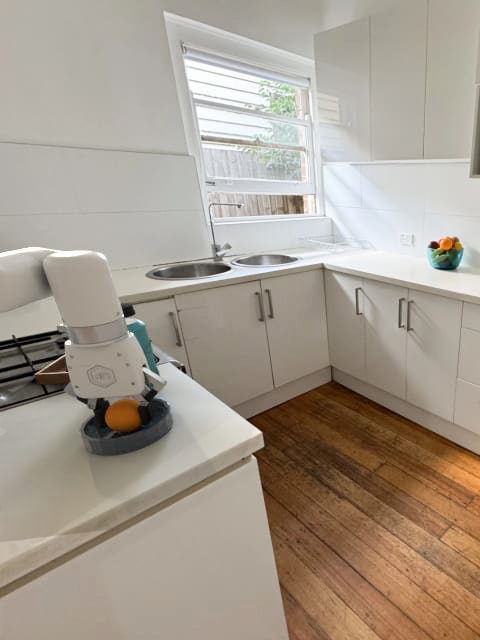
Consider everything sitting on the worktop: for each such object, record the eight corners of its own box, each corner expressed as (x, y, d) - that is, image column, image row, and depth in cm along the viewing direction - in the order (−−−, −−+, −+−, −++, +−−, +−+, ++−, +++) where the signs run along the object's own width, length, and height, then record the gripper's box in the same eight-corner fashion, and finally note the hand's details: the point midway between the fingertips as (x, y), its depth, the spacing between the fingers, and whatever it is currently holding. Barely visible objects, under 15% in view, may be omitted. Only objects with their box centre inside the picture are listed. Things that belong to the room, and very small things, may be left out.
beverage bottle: (138, 406, 76) (108, 312, 68) (121, 397, 79) (91, 306, 71) (171, 392, 82) (147, 303, 74) (153, 384, 85) (129, 297, 77)
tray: (37, 384, 83) (33, 374, 82) (70, 361, 93) (67, 352, 92) (105, 381, 85) (102, 371, 84) (130, 359, 95) (127, 350, 94)
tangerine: (103, 440, 66) (92, 411, 63) (121, 420, 71) (111, 393, 69) (141, 437, 67) (132, 409, 64) (156, 418, 72) (148, 391, 70)
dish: (67, 459, 62) (60, 444, 61) (111, 413, 74) (106, 400, 73) (155, 451, 64) (151, 437, 63) (184, 408, 76) (181, 395, 75)
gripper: (18, 341, 56) (60, 439, 64) (146, 336, 59) (172, 431, 67) (53, 323, 63) (87, 414, 70) (166, 320, 66) (188, 407, 73)
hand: (128, 421), depth 68 cm, fingers closed on tangerine, 6 cm apart
